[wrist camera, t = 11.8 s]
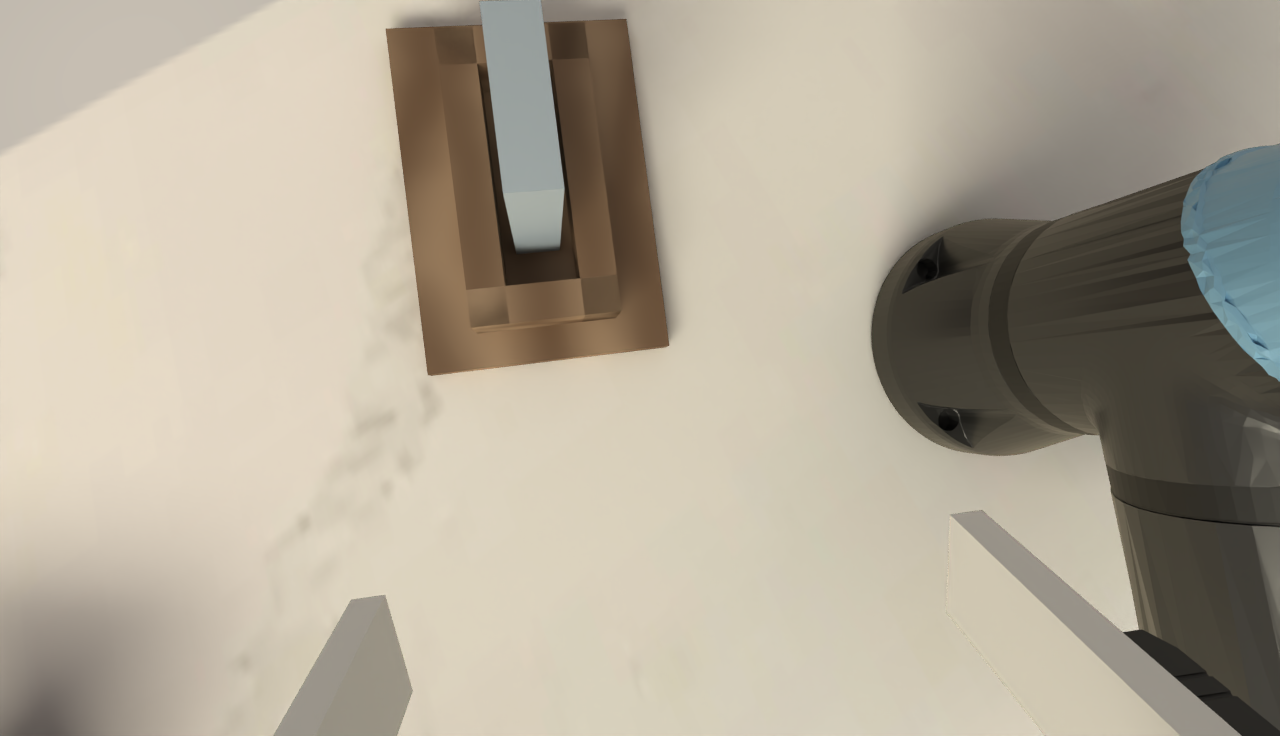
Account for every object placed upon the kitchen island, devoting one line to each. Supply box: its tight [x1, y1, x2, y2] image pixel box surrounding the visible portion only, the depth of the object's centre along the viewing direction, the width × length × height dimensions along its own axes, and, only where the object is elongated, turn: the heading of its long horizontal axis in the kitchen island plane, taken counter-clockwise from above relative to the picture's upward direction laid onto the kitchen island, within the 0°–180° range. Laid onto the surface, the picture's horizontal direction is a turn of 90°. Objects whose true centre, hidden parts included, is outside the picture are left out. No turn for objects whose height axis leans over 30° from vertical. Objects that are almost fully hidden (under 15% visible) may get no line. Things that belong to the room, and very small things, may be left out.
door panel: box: [479, 0, 564, 254], centre depth 31 cm, size 2×8×11 cm, turn 7°
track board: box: [386, 19, 669, 376], centre depth 35 cm, size 14×20×4 cm
